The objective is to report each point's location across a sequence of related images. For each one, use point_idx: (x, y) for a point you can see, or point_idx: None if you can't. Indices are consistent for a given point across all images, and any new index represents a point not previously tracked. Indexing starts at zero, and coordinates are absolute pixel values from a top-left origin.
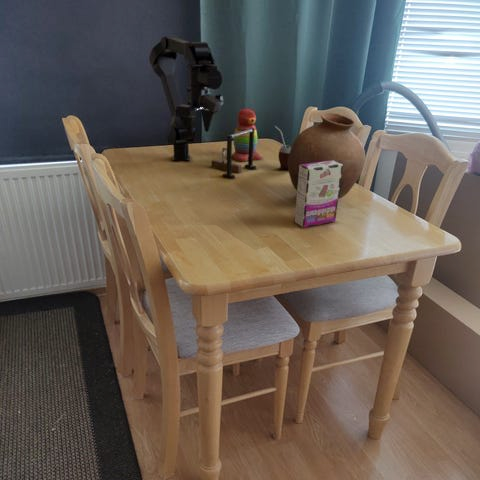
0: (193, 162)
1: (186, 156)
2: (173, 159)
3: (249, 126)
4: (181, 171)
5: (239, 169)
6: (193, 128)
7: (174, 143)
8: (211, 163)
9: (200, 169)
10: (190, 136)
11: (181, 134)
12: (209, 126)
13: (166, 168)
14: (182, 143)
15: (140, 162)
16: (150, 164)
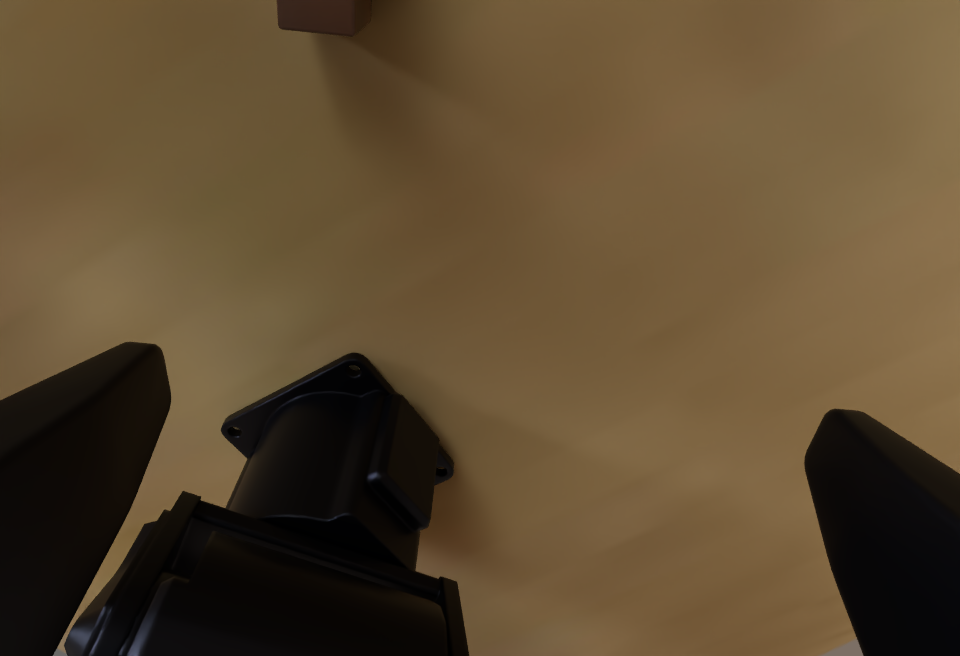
0: (350, 305)
1: (343, 412)
2: (438, 475)
3: None
4: (726, 239)
5: None
6: (156, 653)
7: (458, 594)
8: (362, 26)
9: (544, 93)
10: (264, 559)
11: (424, 649)
12: (20, 400)
13: (690, 403)
14: (344, 549)
15: (627, 611)
16: (640, 545)
